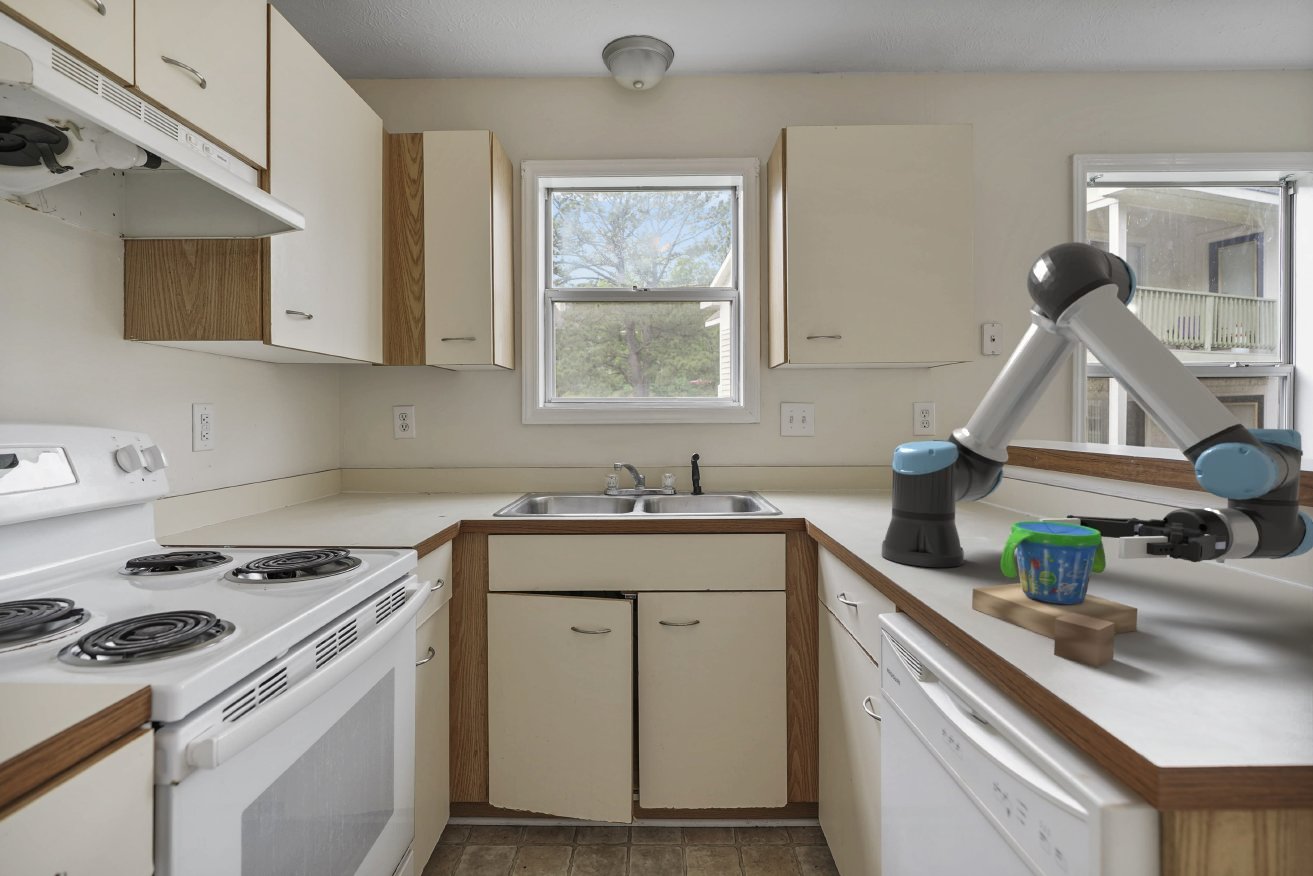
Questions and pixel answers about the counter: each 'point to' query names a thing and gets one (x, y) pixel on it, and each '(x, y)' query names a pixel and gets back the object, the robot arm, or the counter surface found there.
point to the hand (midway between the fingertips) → (1077, 537)
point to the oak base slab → (1048, 609)
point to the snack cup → (1053, 559)
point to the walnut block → (1084, 639)
